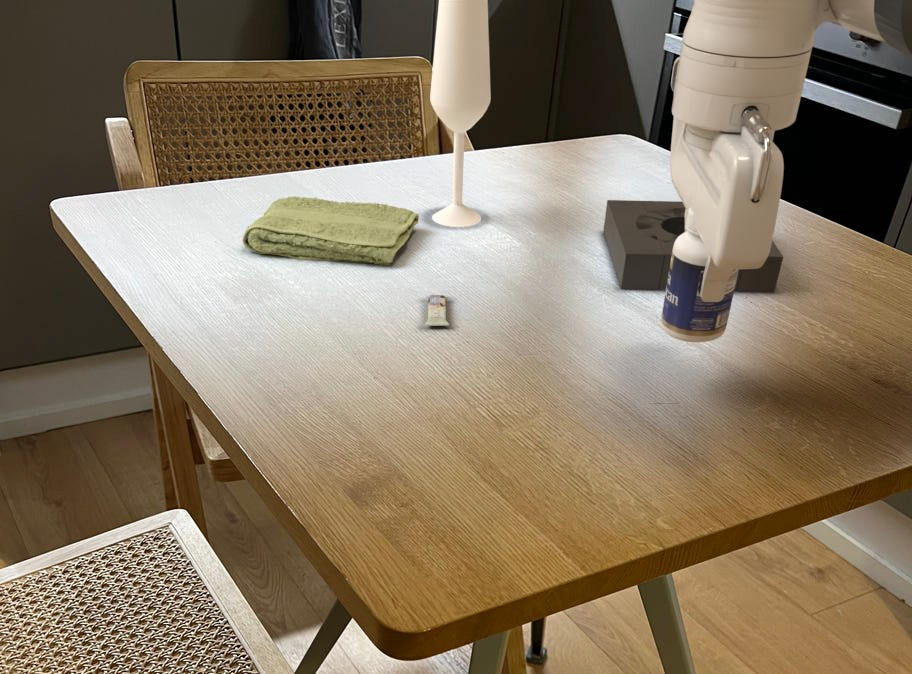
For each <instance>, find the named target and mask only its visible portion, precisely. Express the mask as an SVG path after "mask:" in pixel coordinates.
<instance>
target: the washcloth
mask: <svg viewBox="0 0 912 674" xmlns="http://www.w3.org/2000/svg"><path fill="white" fill-rule="evenodd" d="M419 220H420V217H419V213H415V212H414V211H413V210H410V209H408V208H404V207H398V206H394V205H388V203H386V204H384V203H376V202H355V201H351V202H350V201H347V200H346V201H337V200H335V201H333V200H329V199H323V198H317V197H305V196H303V197H300V196H297V195H296V196H295V195H294V196H293V195H292V196H288V197H282V198H281V197H280V198H278V199H276V200H275V201H273V202H272V203H271V204H270V205H269V206H268V208H267V209H266V211H264V213H263V215H262V216H261V217H259V218H257V219H256V220H255V221H253V223H251V224H249V225H248V226H247V228H246V229H245V230H244V234H243V235H242V243H243V246H244V247H245V248H246V249H247V250H248V251H251V252H253V253H255V254H258V255H260V254H261V255H262V254H263V255H275V256H281V257H287V258H289V259H297V260H306V261H330V262H345V263H363V264H364V263H365V264H370V263H371V264H372V263H373V264H374V265H380V266H384V265H385V266H390V265H392V264H391V263H393V262H394V258H395V256H396V254H397V252H398V251H399V250H400V249H401V248H402V247H403V246H404V245H405V244H406V242H407V241H408V239H409V238H410V235H411V233H412V231H413V230H414V229H415V228H414V227H415V226H416V225H418V223H419Z"/></svg>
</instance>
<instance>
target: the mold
mask: <svg viewBox="0 0 912 674" xmlns="http://www.w3.org/2000/svg"><path fill="white" fill-rule="evenodd" d="M685 210H686V208H685V206H684V204H683V202H682V201H676V200H675V201H671V200H628V199H627V200H623V199H622V200H621V199H608V200H606V206H605V216H604V222H603V230H602V231H603V232H602V235H603V238H604V241H605V245H606V247H607V251H608V255H609V257H610V260H611V263H612V266H613V269H614V273H615V276H616V279H617V281H618V282H617V283H618V286H619V289H620V290H621V291H622V290H623V291H666V286H667V281H668V275H669V268H670V262H671V256H672V251H673V246H674V243H675V241H676V239H677V238H678V237H679V236H680V235H681V234H683V233H685ZM783 261H784V256H783V254H782V252H781V251H780V250H779V248H778V247H777V245H776V244H775V242H774V241H773V240H772V244H771V249H770V253H769V255H768V257H767V259H766V261H765V263H764V264H763V265H762V267H760V268H757V269H739V270H738V275H737V280H736V284H735V289H734V293H764V294H765V293H767V294H768V293H769V294H774V293H775V290H776V287H777V283H778V279H779V275H780V272H781V268H782V264H783Z"/></svg>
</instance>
